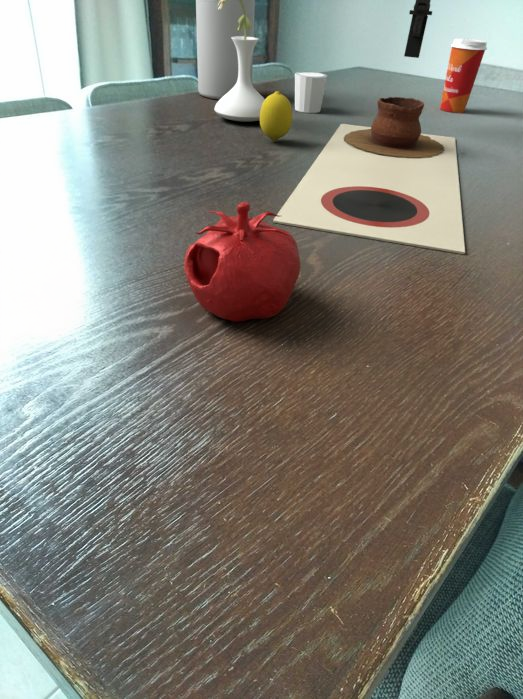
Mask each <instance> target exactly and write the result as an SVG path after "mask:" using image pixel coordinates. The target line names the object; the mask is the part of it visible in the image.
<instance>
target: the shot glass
mask: <svg viewBox="0 0 523 699" xmlns="http://www.w3.org/2000/svg"><path fill="white" fill-rule="evenodd" d="M327 79H328V75H327V74H326V73H321V72H317V71H297V72H295V73H294V110H295V111H297V112H299V113H305V114H316V113H320V112H321V109H322V104H323V100H324V95H325V89H326V85H327Z"/></svg>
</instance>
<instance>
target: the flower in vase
mask: <svg viewBox="0 0 523 699" xmlns="http://www.w3.org/2000/svg"><path fill="white" fill-rule="evenodd" d="M226 1H227V0H220V2H219V4H218V6H219V5H220V4H221V5H220V7H219V8H218V10H219V9H220V10H221V9H222V8H223V6H224V5H225V3H226ZM240 3H241V6H242V9H243V15H242V16H241V17H240V18H239V20H238V23H239V27H238V29H237V32H239V31H240V30H241V28H243V29H244V37H243V36H236V37H231V38H232V40H233V42H234V44H235V46H236V49H237V55H238V69H239V71H238V80H237V83H236V85H235V86H234V87H233V88H232V89H231V90H230V91H229V92H228V93H227V94H225V95H224V96H223V97H222V98H221V99H220V100H217V102H216V103H215V105H214V112H215V113H216V115H217V116H220V117H221V118H223V119H226V120H230V121H234V122H243V123H244V122H245V123H246V122H247V123H248V122H260V110H261V107H262V104H263V102H264V100H265V99H266V98H264V96H262V95H261V94H260V93H259V91H257V89H256V88H255V87H254V86H253V82H252V83H251V79H250V65H251V57H252V53H253V54H254V50H255V47H256V45H257V43H258V42H259V40H260V38H258V37H255V36H254V37H246V30H248V29H250V28H251V27H252V25H251V23H250V21H249V20H248V18H247V16H246V14H245V9H244V6H243V2H242V0H240Z"/></svg>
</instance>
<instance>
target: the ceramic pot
mask: <svg viewBox="0 0 523 699" xmlns="http://www.w3.org/2000/svg"><path fill="white" fill-rule="evenodd" d="M376 102H377V103H376V104H377V108H378V110H377V115H376V117H375V118H374V119H373V122H372V124H371V126H370V127H371V129H366V130H357V131H353V132H350V133H349V134H346V135H345V137H344V141H345V142H347V143H348V144H350V145H352V146H355V147H357V148H360V149H363V150H365V151H370V152H374V153H377V154H384V155H388V156H390V155H391V156H398V157H412V158H413V157H417V158H420V157H432V156H433V155H437V154H439V153H442V152H443V151H444V147H443V145H442V144H440V143H439V142H437V141H435V140H432V139H431V138H430V137H428V136H423V135H421V134H422V126H421V122H420V117H421V115H422V113H423V110H424V106H425V102H424V101H422V100H420V99H415V98H414V97H401V96H399V97H398V96H388V97H386V98H384V97H381V98H378V99H377V101H376Z"/></svg>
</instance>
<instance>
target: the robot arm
mask: <svg viewBox="0 0 523 699" xmlns="http://www.w3.org/2000/svg"><path fill="white" fill-rule="evenodd" d="M431 1H432V0H415V3H414V5H413V9H410V10H409V11H408V12H409V13H408V15H412V16H411V21H410V26H409V30H408V35H407V39H406V45H405V50H404V54H403V57H405V58H416V59H419V58H420V54H421V51H422V50H421V49H422V46H423V45H422V44H423V40H424V36H425V31H426V27H427V23H428V18H429V16H432V15H433V10H430V9H431Z"/></svg>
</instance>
